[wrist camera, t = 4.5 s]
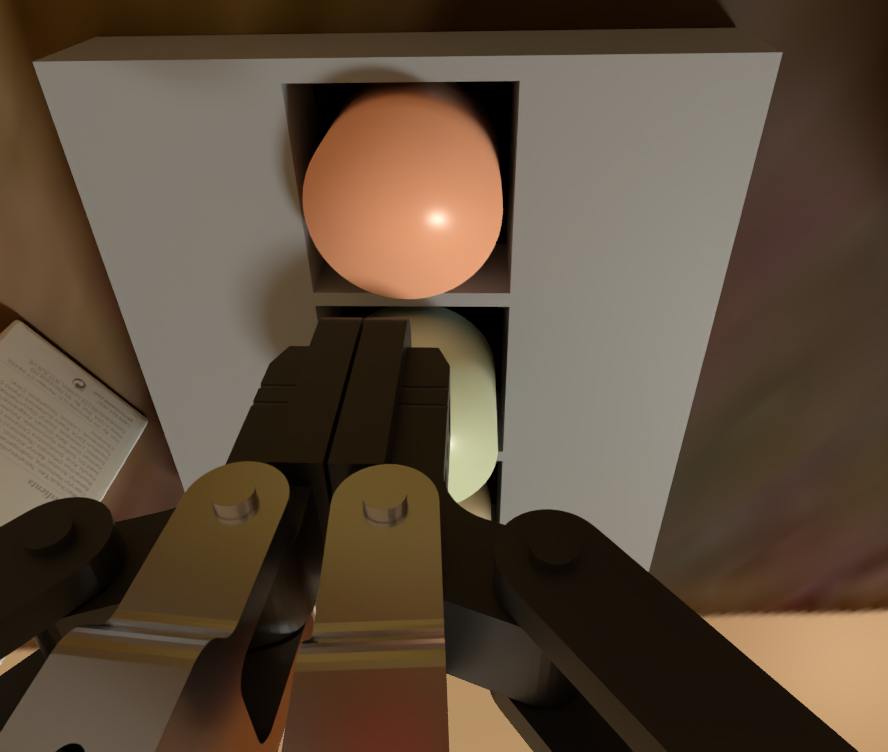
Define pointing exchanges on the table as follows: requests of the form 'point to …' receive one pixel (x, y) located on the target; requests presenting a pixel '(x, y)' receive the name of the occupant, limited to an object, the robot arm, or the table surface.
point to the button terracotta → (406, 189)
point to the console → (494, 285)
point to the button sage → (460, 391)
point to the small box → (56, 426)
